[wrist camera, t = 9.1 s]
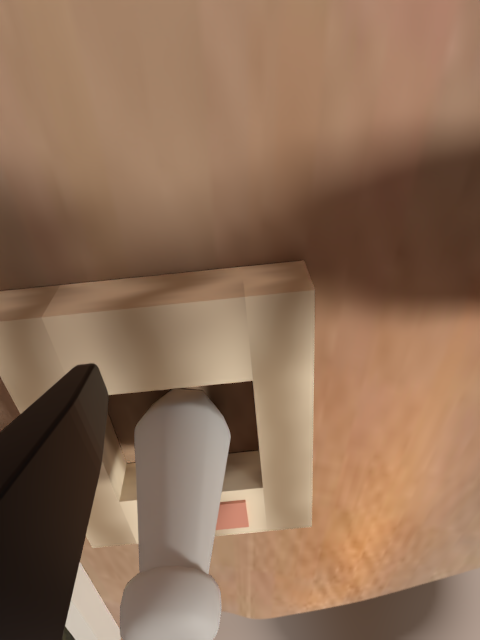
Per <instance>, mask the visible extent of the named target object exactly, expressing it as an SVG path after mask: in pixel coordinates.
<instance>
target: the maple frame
mask: <svg viewBox="0 0 480 640" xmlns="http://www.w3.org/2000/svg"><path fill="white" fill-rule="evenodd" d="M314 328H315V288H314V286H313V283H312V281H311V278H310V275H309V273H308V270H307V267H306V265H305V262H304V260H303V261H294V262H284V263H274V264H264V265H254V266H244V267H234V268H225V269H215V270H205V271H195V272H185V273H175V274H165V275H155V276H146V277H136V278H126V279H116V280H106V281H96V282H86V283H76V284H67V285H57V286H47V287H37V288H27V289H17V290H7V291H0V377H1V379H2V381H3V383H4V385H5V386H6V388H7V390H8V392H9V394H10V396H11V398H12V399H13V401H14V403H15V405H16V407H17V409H18V411H19V412H20V414H21V413H22V412H24V411H25V410H26V409H27V408H28V407H29V406H30V405H31V404H33V403H34V402H35V401H36V400H37V399H38V398H39V397H41V396H42V395H43V394H44V393H45V392H46V391H47V390H48V389H50V388H51V387H52V386H53V385H54V384H55V383H56V382H58V381H59V380H60V379H61V378H62V377H63V376H64V375H65V374H67V373H68V372H69V371H70V370H71V369H72V368H73V367H75V366H76V365H80V364H89V363H94V364H96V365H97V366H98V368H99V370H100V373H101V375H102V378H103V380H104V383H105V386H106V388H107V391H108V395H115V394H125V393H135V392H145V391H155V390H165V389H175V388H185V387H195V386H205V385H215V384H225V383H236V382H246V381H252V382H253V392H254V403H255V413H256V424H257V434H258V445H259V451H250V452H240V453H230V454H228V457H227V463H226V469H225V475H224V481H223V487H222V493H221V500H220V506H219V512H218V518H217V524H216V530H215V536H223V535H233V534H243V533H254V532H264V531H275V530H285V529H295V528H306V527H312V476H313V402H314ZM86 537H87V539H88V541H89V542H90V544H91V546H92V548H98V547H109V546H119V545H129V544H139V541H138V513H137V485H136V463H126V460H125V458H124V455H123V452H122V450H121V447H120V444H119V441H118V439H117V436H116V433H115V431H114V428H113V425H112V423H111V420H110V417H109V415H108V412H107V421H106V430H105V440H104V449H103V458H102V465H101V470H100V475H99V480H98V484H97V488H96V493H95V497H94V501H93V506H92V510H91V515H90V519H89V523H88V528H87V532H86Z"/></svg>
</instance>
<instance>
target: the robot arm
mask: <svg viewBox="0 0 480 640" xmlns="http://www.w3.org/2000/svg"><path fill="white" fill-rule="evenodd" d="M108 402H109V397H108V391H107V388H106V386H105V383H104V380H103V378H102V375H101V373H100V370H99V368H98V366H97V365H96V364H94V363H89V364H80V365H76V366H75V367H73V368H72V369H71V370H70V371H69V372H68V373H67V374H65V375H64V376H63V377H62V378H61V379H60V380H59V381H58V382H56V383H55V384H54V385H53V386H52V387H51V388H50V389H48V390H47V391H46V392H45V393H44V394H43V395H42V396H41V397H39V398H38V399H37V400H36V401H35V402H34V403H33V404H31V405H30V406H29V407H28V408H27V409H26V410H25V411H24V412H22V413H21V414H20V415H19V416H18V417H17V418H16V419H14V420H13V421H12V422H11V423H10V424H9V425H8V426H7V427H5V428H4V429H3V430H2V431H1V432H0V640H62V637H63V633H64V629H65V624H66V620H67V616H68V611H69V607H70V602H71V598H72V594H73V589H74V585H75V580H76V576H77V572H78V567H79V563H80V558H81V554H82V550H83V545H84V541H85V537H86V532H87V528H88V523H89V519H90V515H91V510H92V506H93V501H94V497H95V493H96V488H97V484H98V480H99V475H100V470H101V465H102V458H103V449H104V440H105V430H106V421H107V411H108Z"/></svg>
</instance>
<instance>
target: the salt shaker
mask: <svg viewBox="0 0 480 640" xmlns="http://www.w3.org/2000/svg"><path fill="white" fill-rule="evenodd" d="M230 439H231V435H230V430H229V428H228V426H227V423H226V421H225V419H224V417H223V415H222V414H221V413H220V411H219V410H218V408H217V407H216V406H215V405H214V403H213V402H212V401H211V400H210V399H209V398H208V396H207V395H206V394H205V393H204V392H203V391H202V390H190V389H179V388H175V389H172V390H170V391H169V392H168V393H166V394H165V395H164V396H162V397H161V398H160V399H158V400H157V401H156V402H154V403H153V405H152V406H151V407H150V408H149V409H148V411H147V412H146V413H145V414H144V416H143V417H142V418H141V419H140V420H139V422H138V423H137V425H136V427H135V435H134V446H135V463H136V485H137V513H138V541H139V570H140V573H138V574H137V575H136V576H135V577H133V578H132V579H131V580H130V581H129V582H128V583H127V585H126V587H125V589H124V592H123V596H122V601H121V605H120V636H121V637H122V638H123V640H213V639H214V638H215V636H216V634H217V631H218V628H219V623H220V616H221V592H220V589H219V586H218V584H217V583H216V581H215V580H214V578H213V577H212V576H211V575H209V574H208V573H209V567H210V560H211V554H212V548H213V542H214V536H215V530H216V524H217V518H218V512H219V506H220V500H221V493H222V487H223V481H224V475H225V469H226V463H227V457H228V451H229V445H230Z"/></svg>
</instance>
